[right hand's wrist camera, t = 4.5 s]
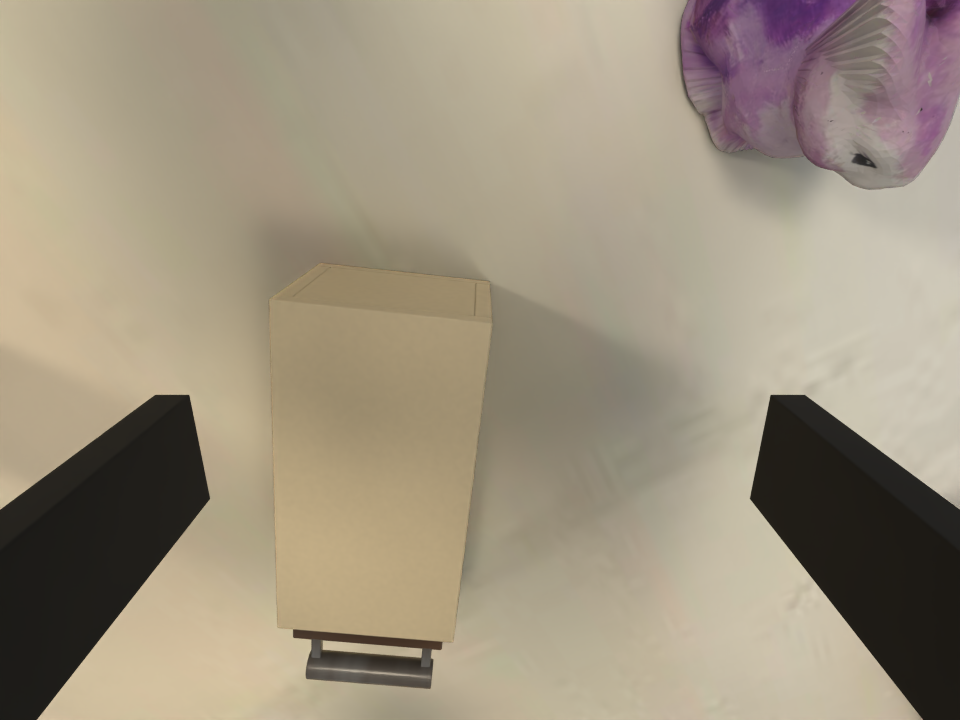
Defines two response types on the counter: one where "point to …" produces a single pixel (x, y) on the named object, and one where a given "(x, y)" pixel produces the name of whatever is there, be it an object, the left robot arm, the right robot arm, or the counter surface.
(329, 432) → the cabinet
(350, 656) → the drawer
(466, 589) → the counter surface
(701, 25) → the figurine
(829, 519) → the right robot arm
